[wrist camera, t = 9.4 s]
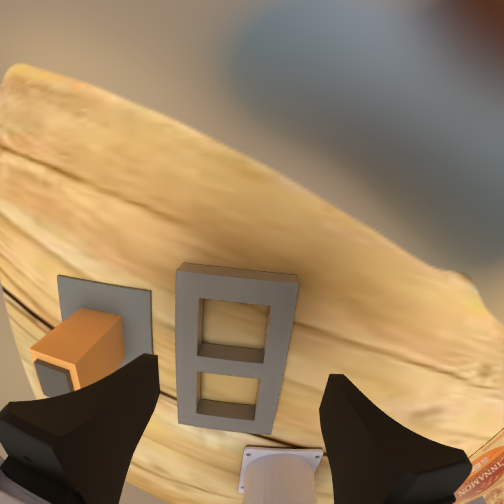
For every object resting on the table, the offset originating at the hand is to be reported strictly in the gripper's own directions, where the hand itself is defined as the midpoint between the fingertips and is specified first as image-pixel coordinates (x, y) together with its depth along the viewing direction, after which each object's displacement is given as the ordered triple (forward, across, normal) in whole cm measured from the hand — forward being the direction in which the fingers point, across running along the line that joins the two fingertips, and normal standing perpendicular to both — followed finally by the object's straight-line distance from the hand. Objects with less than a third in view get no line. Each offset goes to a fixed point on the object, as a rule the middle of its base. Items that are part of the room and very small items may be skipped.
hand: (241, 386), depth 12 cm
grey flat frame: (+10, +1, +5) cm, 12 cm away
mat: (+10, +12, +5) cm, 17 cm away
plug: (+10, +12, +5) cm, 16 cm away
